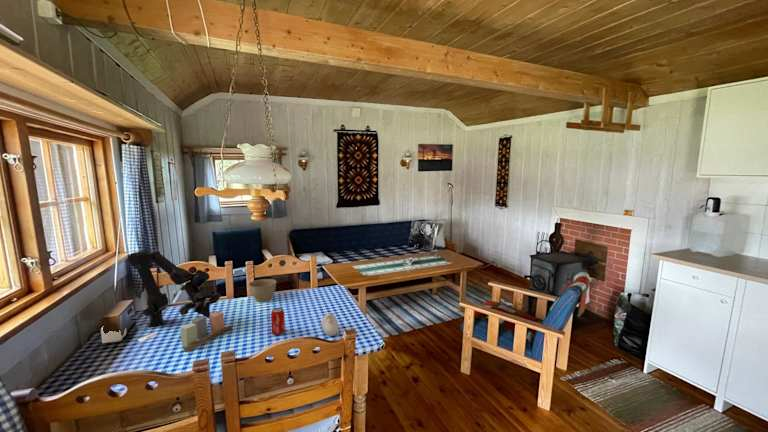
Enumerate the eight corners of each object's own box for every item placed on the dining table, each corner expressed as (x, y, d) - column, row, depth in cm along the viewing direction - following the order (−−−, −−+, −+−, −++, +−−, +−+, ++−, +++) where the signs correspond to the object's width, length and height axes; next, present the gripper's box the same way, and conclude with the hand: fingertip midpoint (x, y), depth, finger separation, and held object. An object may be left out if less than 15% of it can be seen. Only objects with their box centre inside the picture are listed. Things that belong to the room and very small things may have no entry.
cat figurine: (335, 320, 151) (328, 305, 164) (320, 330, 149) (314, 314, 162) (344, 333, 154) (337, 317, 168) (330, 344, 153) (324, 327, 166)
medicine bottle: (126, 333, 155) (124, 310, 153) (120, 341, 148) (118, 316, 147) (108, 336, 152) (106, 312, 151) (101, 343, 145) (99, 318, 144)
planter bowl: (282, 297, 203) (281, 281, 202) (262, 306, 189) (261, 288, 188) (264, 292, 211) (263, 277, 210) (243, 301, 197) (243, 284, 195)
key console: (168, 347, 143) (168, 341, 142) (215, 326, 163) (214, 320, 163) (186, 354, 137) (186, 348, 137) (232, 331, 158) (231, 325, 158)
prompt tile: (137, 340, 148) (137, 339, 148) (153, 334, 154) (153, 332, 154) (152, 347, 143) (152, 345, 143) (168, 339, 149) (168, 338, 149)
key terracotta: (210, 332, 155) (209, 314, 154) (218, 328, 159) (217, 311, 158) (215, 334, 153) (214, 316, 152) (224, 330, 157) (223, 312, 156)
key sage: (181, 346, 142) (180, 327, 141) (191, 341, 146) (190, 322, 145) (187, 348, 140) (186, 328, 139) (197, 343, 144) (195, 324, 143)
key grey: (192, 337, 149) (191, 319, 148) (201, 333, 154) (200, 315, 152) (198, 339, 148) (197, 321, 147) (207, 335, 152) (206, 317, 151)
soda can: (282, 328, 162) (281, 306, 160) (286, 333, 157) (286, 310, 155) (269, 332, 158) (269, 309, 156) (274, 337, 153) (273, 313, 151)
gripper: (182, 289, 149) (198, 316, 146) (217, 278, 166) (233, 302, 162) (172, 301, 153) (188, 328, 150) (208, 289, 170) (223, 313, 167)
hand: (209, 317), depth 157 cm, fingers closed
